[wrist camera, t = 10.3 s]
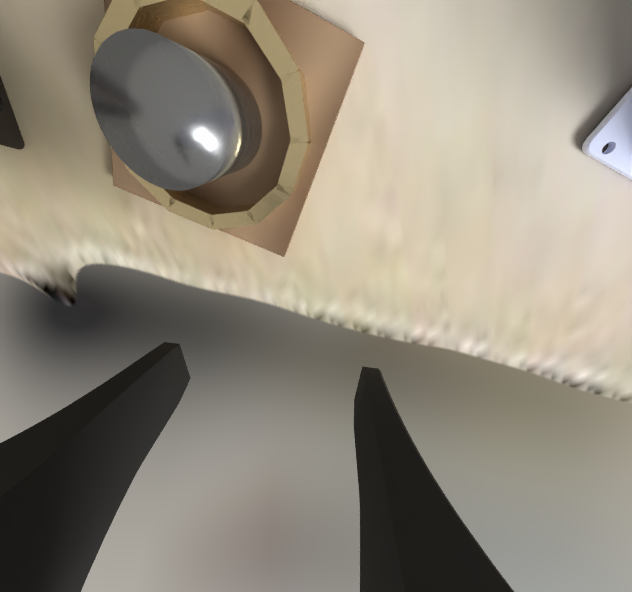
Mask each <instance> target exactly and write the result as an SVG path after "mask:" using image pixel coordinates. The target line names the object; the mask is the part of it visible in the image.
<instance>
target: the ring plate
mask: <svg viewBox="0 0 632 592" xmlns="http://www.w3.org/2000/svg"><path fill="white" fill-rule="evenodd" d="M104 2H105V16H104V18H103V20H102V22H101V24H100V26H99V28H98V30H97V32H96V34H95V36H94V38H95V39H96V40H95V39H93V40H94V54H96V52H97V50H98V48H99V47H100V46H101V44H102V43H103V41H105V40H106V39H107V38H108V37H109V36H110V35H112V34H114V33H116V32H117V31H121V30H124V29H133V28H137V29H145V30H148V31H152V32H155V33H157V34H159V35H161V36H163V37H165V38H168V39H170V40H172V41H174V42H176V43H178V44H180V45H182V46H184V47H186V48H188V49H190V50H192V51H194V52H196V53H198V54H200V55H202V56H204V57H206V58H208V59H210V60H212V61H214V62H216V63H218V64H220V65H222V66H224V67H226V68H228V69H230V70H231V71H233V72H234V73H236V74H237V75H238V76H239V77H240V78H241V79H242V80H243V81H244V82H245V83H246V85H247V86H248V87H249V89H250V90H251V92H252V94H253V95H254V97H255V99H256V102H257V104H258V107H259V110H260V114H261V119H262V139H261V144H260V147H259V150H258V152H257V154H256V156H255V158H254V159H253V160H252V161H251V163H250V164H249V165H247V166H246V167H245V168H243V169H241V170H239V171H236V172H234V173H231V174H228V175H226V176H223V177H221V178H218V179H216V180H213V181H211V182H208V183H205V184H203V185H200V186H198V187H195V188H192V189H189V190H183V191H175V190H168V189H164V188H161V187H158V186H156V185H153V184H151V183H149V182H148V181H146V180H144V179H143V178H141V177H140V176H138V175H137V174H136V173H134V172H133V171H132V170H131V169H130V168H129V167H128V166H127V165H126V164H125V163H124V162H123V161H122V160H121V159H120V158H119V157H118V155H117V154H116V153H115V151H114V150H113V149H112V166H113V185H114V186H116V187H118V188H121V189H123V190H126V191H128V192H130V193H133V194H135V195H137V196H140V197H142V198H145V199H147V200H149V201H152V202H154V203H157V204H159V205H161V206H164V207H165V208H166V209H167V210H169V211H170V212H172V213H175V214H177V215H179V216H182V217H184V218H187V219H189V220H191V221H194V222H196V223H199V224H201V225H203V226H206V227H208V228H211V229H219V230H221V231H223V232H226V233H228V234H231V235H233V236H235V237H238V238H240V239H243V240H245V241H247V242H250V243H252V244H254V245H257V246H259V247H262V248H264V249H266V250H269V251H271V252H274V253H276V254H278V255H281V256H283V257H284V256H285V254H286V251H287V249H288V246H289V243H290V241H291V238H292V235H293V233H294V230H295V227H296V225H297V222H298V219H299V217H300V214H301V212H302V209H303V206H304V204H305V201H306V198H307V196H308V193H309V190H310V188H311V185H312V182H313V180H314V177H315V174H316V172H317V169H318V166H319V164H320V161H321V158H322V156H323V153H324V150H325V148H326V145H327V142H328V140H329V137H330V134H331V132H332V129H333V127H334V124H335V121H336V119H337V116H338V113H339V111H340V108H341V105H342V103H343V100H344V97H345V95H346V92H347V89H348V87H349V84H350V81H351V79H352V76H353V73H354V71H355V68H356V65H357V63H358V60H359V57H360V55H361V52H362V49H363V46H364V42H363V41H361V40H359V39H357V38H356V37H354V36H352V35H350V34H348V33H347V32H345V31H343V30H341V29H339V28H338V27H336V26H334V25H332V24H331V23H329V22H327V21H325V20H323V19H322V18H320V17H318V16H316V15H314V14H313V13H311V12H309V11H307V10H306V9H304V8H302V7H300V6H298V5H297V4H295V3H293V2H291V1H290V0H104Z"/></svg>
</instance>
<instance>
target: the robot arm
mask: <svg viewBox="0 0 632 592" xmlns="http://www.w3.org/2000/svg"><path fill="white" fill-rule="evenodd" d="M607 143H609V145H608V148H607V149H606V150H605V151H604V152H603V153H602V148H603V147H604V145H606V144H607ZM582 150H583V152H584V153H585V154H586V155H588V156H590V157H591V158H593V159H595V160H597V161H598V162H600V163H602V164H604V165H606V166H607V167H609V168H611V169H613V170H614V171H616V172H618V173H620V174H621V175H623V176H625V177H627V178H628V179H630V180H632V87H631V89H630V90H629V91H628V92H627V93H626V94H625V95H624V97H623V98H622V99H621V100H620V101H619V102H618V103H617V104H616V106H615V107H614V108H613V109H612V110H611V111H610V112H609V114H608V115H607V116H606V117H605V118H604V119H603V120H602V122H601V123H600V124H599V125H598V126H597V127H596V128H595V129H594V131H593V132H592V133H591V134H590V135H589V136H588V137H587V139H586V140H585V142H584V143H583V146H582ZM189 380H190V376H189V372H188V370H187V366H186V363H185V360H184V357H183V354H182V351H181V347H180V344H175V343H166V342H164V343H163V344H161V345H160V346H158V347H157V348H155V349H154V350H152V351H151V352H149V353H148V354H146V355H145V356H143V357H142V358H141V359H139V360H138V361H136V362H134V363H133V364H132V365H130V366H129V367H127V368H126V369H124V370H123V371H121V372H120V373H118V374H117V375H115V376H114V377H112V378H111V379H109V380H108V381H106V382H105V383H103V384H102V385H100V386H99V387H97V388H96V389H94V390H92V391H91V392H89V393H88V394H86V395H84V396H83V397H81V398H80V399H78V400H76V401H75V402H73V403H72V404H70V405H69V406H67V407H65V408H63V409H62V410H60V411H58V412H57V413H55V414H53V415H51V416H50V417H48V418H46V419H45V420H43V421H41V422H39V423H37V424H35V425H34V426H32V427H30V428H29V429H26V430H25V431H23V432H21V433H19V434H17V435H15V436H14V437H12V438H10V439H8V440H6V441H4V442H2V443H0V592H81V590H82V587H83V585H84V582H85V580H86V578H87V575H88V573H89V571H90V569H91V566H92V564H93V562H94V560H95V558H96V555H97V553H98V551H99V549H100V546H101V544H102V542H103V539H104V537H105V535H106V533H107V531H108V529H109V527H110V525H111V523H112V521H113V519H114V516H115V514H116V512H117V510H118V508H119V506H120V504H121V502H122V500H123V498H124V496H125V494H126V492H127V490H128V488H129V486H130V484H131V482H132V480H133V478H134V477H135V474H136V473H137V471H138V469H139V468H140V466H141V464H142V462H143V461H144V459H145V457H146V456H147V454H148V452H149V451H150V449H151V448H152V446H153V444H154V443H155V441H156V440H157V438H158V436H159V435H160V433H161V432H162V430H163V428H164V427H165V425H166V423H167V422H168V420H169V419H170V417H171V415H172V414H173V412H174V410H175V409H176V407H177V405H178V404H179V402H180V400H181V398H182V395H183V393H184V391H185V389H186V387H187V385H188V382H189ZM354 434H355V447H356V459H357V471H358V483H359V495H360V496H359V497H360V592H514V591H513V590H512V589H511V587H510V586H509V584H508V583H507V582H506V581H505V579H504V578H503V577H502V575H501V574H500V573H499V571H498V570H497V569H496V567H495V566H494V565H493V563H492V562H491V560H490V559H489V558H488V556H487V555H486V554H485V552H484V551H483V549H482V548H481V547H480V545H479V544H478V542H477V541H476V540H475V538H474V537H473V535H472V534H471V533H470V531H469V530H468V528H467V527H466V526H465V524H464V523H463V521H462V520H461V519H460V517H459V516H458V514H457V513H456V511H455V510H454V508H453V507H452V505H451V504H450V502H449V501H448V499H447V498H446V496H445V494H444V493H443V491H442V490H441V488H440V487H439V485H438V483H437V482H436V480H435V479H434V477H433V475H432V474H431V472H430V470H429V469H428V467H427V465H426V464H425V462H424V460H423V458H422V457H421V455H420V453H419V452H418V450H417V448H416V446H415V445H414V442H413V441H412V439H411V437H410V435H409V433H408V431H407V429H406V427H405V425H404V423H403V421H402V419H401V417H400V415H399V413H398V411H397V409H396V407H395V405H394V402H393V400H392V398H391V396H390V393H389V391H388V389H387V386H386V384H385V381H384V379H383V376H382V373H381V371H380V370H379V369H377V368H368V367H362V370H361V374H360V379H359V383H358V387H357V391H356V395H355V399H354Z"/></svg>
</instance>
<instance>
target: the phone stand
mask: <svg viewBox="0 0 632 592" xmlns="http://www.w3.org/2000/svg"><path fill="white" fill-rule="evenodd" d="M0 145H4V146H7V147H11V148H15V149H23V148H24V145H25V144H24V141H23V138H22V135H21V133H20V130H19V127H18V124H17V121H16V118H15V116H14V113H13V110H12V107H11V104H10V102H9V99H8V96H7V93H6V90H5V88H4V85H3V82H2V79H1V76H0Z"/></svg>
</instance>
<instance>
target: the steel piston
mask: <svg viewBox="0 0 632 592" xmlns="http://www.w3.org/2000/svg"><path fill="white" fill-rule="evenodd" d="M90 91H91V99H92V104H93V108H94V111H95V115H96V118H97V120H98V123H99V125H100V128H101V130H102V132H103V134H104V136H105V138H106V139H107V141H108V143H109V144H110V146H111V147H112V149H113V150H114V151H115V153H116V154H117V155H118V157H119V158H120V159H121V160H122V161H123V162H124V163H125V164H126V165H127V166H128V167H129V168H130V169H131V170H132V171H133V172H134V173H136V174H137V175H138V176H140V177H141V178H143V179H144V180H146V181H148V182H149V183H151V184H153V185H156V186H158V187H161V188H164V189H168V190H175V191H183V190H189V189H192V188H195V187H198V186H200V185H203V184H205V183H208V182H211V181H213V180H216V179H218V178H221V177H223V176H226V175H228V174H231V173H234V172H236V171H239V170H241V169H243V168H245V167H246V166H247V165H249V164H250V163H251V161H252V160H253V159H254V158H255V156H256V154H257V152H258V150H259V147H260V144H261V139H262V119H261V114H260V110H259V107H258V104H257V102H256V99H255V97H254V95H253V94H252V92H251V90H250V89H249V87H248V86H247V85H246V83H245V82H244V81H243V80H242V79H241V78H240V77H239V76H238V75H237V74H236V73H234V72H233V71H231V70H230V69H228V68H226V67H224V66H222V65H220V64H218V63H216V62H214V61H212V60H210V59H208V58H206V57H204V56H202V55H200V54H198V53H196V52H194V51H192V50H190V49H188V48H186V47H184V46H182V45H180V44H178V43H176V42H174V41H172V40H170V39H168V38H165V37H163V36H161V35H159V34H157V33H155V32H152V31H148V30H145V29H137V28H133V29H124V30H121V31H117V32H116V33H114V34H112V35H110V36H109V37H108V38H107V39H106V40H105V41H103V43H102V44H101V46H100V47H99V48H98V50H97V52H96V54H95V56H94V59H93V63H92V67H91V74H90Z"/></svg>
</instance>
